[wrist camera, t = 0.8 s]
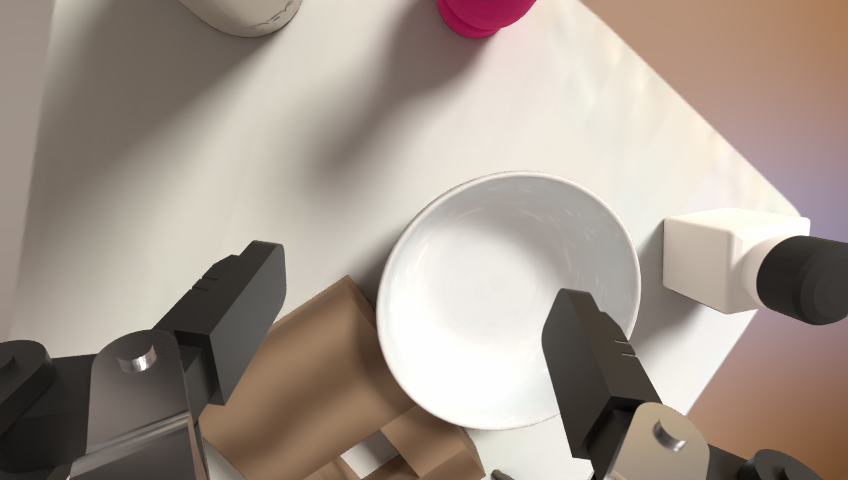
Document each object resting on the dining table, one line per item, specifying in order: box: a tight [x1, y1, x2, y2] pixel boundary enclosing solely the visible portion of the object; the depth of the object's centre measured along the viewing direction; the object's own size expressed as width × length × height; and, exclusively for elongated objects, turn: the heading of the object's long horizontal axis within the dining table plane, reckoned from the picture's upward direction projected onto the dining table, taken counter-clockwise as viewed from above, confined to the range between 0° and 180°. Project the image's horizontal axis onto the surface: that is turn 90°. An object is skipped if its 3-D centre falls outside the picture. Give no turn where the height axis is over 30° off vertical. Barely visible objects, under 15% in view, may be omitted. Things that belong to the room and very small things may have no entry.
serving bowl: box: [376, 171, 641, 430], centre depth 31 cm, size 21×21×7 cm
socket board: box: [199, 275, 486, 480], centre depth 33 cm, size 22×16×4 cm
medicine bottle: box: [663, 207, 848, 325], centre depth 31 cm, size 7×7×12 cm
